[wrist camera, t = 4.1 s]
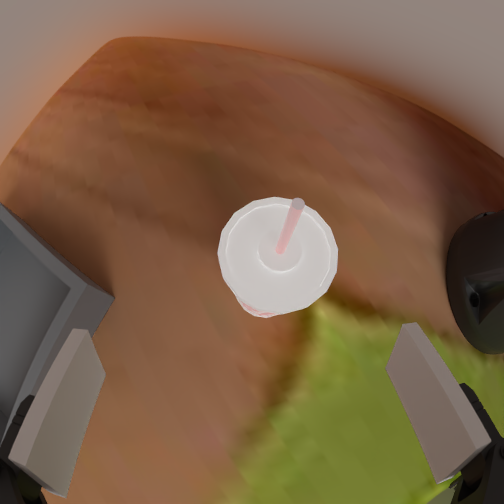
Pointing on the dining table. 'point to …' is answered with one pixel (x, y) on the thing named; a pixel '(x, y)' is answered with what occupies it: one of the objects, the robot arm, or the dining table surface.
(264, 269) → the beverage cup
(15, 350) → the tote
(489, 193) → the dining table surface
